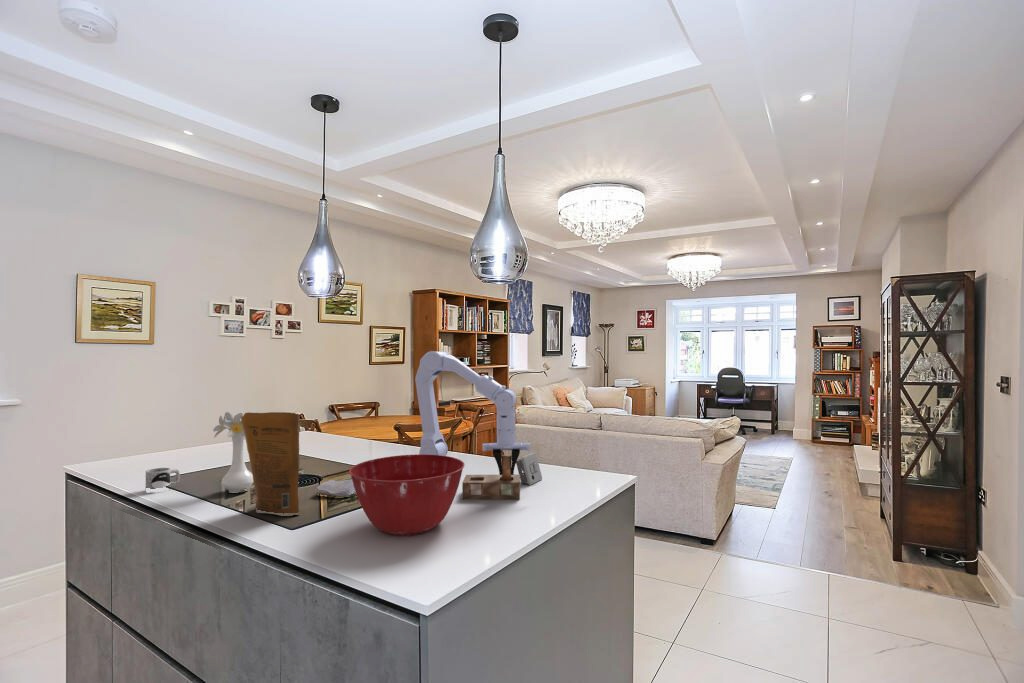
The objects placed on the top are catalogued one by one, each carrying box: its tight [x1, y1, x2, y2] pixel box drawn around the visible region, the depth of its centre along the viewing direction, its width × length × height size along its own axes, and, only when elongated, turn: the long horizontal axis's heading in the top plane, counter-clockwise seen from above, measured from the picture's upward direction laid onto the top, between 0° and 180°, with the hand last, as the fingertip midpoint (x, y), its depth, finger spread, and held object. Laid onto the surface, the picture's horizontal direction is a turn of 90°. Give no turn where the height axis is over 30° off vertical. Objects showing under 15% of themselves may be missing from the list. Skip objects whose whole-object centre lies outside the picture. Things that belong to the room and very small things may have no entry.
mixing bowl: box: [348, 453, 465, 536], centre depth 134 cm, size 28×28×16 cm
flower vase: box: [212, 411, 254, 491], centre depth 170 cm, size 13×18×25 cm
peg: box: [501, 454, 512, 481], centre depth 162 cm, size 3×3×8 cm
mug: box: [145, 467, 181, 489], centre depth 173 cm, size 10×7×7 cm, turn 150°
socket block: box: [461, 474, 521, 501], centre depth 163 cm, size 17×10×5 cm, turn 89°
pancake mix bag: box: [240, 411, 301, 514], centre depth 146 cm, size 7×19×28 cm, turn 66°
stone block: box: [315, 478, 356, 496], centre depth 165 cm, size 12×5×10 cm
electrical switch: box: [515, 452, 543, 486], centre depth 179 cm, size 9×5×9 cm, turn 152°
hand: (506, 474), depth 162 cm, fingers closed on peg, 3 cm apart
